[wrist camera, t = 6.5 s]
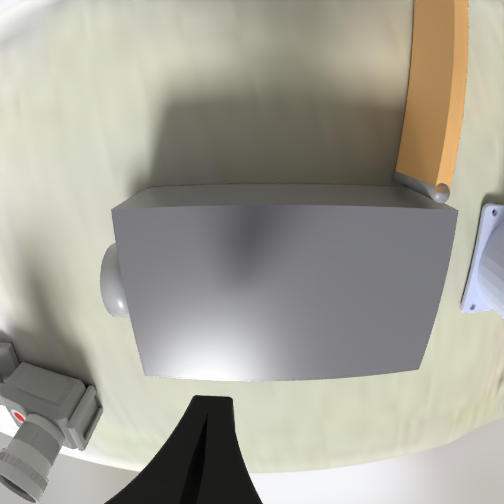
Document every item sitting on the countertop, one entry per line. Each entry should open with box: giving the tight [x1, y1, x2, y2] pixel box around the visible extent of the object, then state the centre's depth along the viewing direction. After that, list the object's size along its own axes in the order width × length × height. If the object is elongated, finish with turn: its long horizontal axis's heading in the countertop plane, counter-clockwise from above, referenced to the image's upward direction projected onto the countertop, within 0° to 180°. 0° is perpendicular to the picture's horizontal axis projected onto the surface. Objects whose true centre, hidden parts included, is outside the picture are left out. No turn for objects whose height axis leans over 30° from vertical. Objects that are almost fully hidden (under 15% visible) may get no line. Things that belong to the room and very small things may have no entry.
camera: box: [0, 342, 103, 504], centre depth 19 cm, size 9×12×15 cm
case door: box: [394, 0, 469, 203], centre depth 12 cm, size 12×2×5 cm, turn 172°
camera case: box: [100, 183, 458, 381], centre depth 16 cm, size 17×9×5 cm, turn 91°
